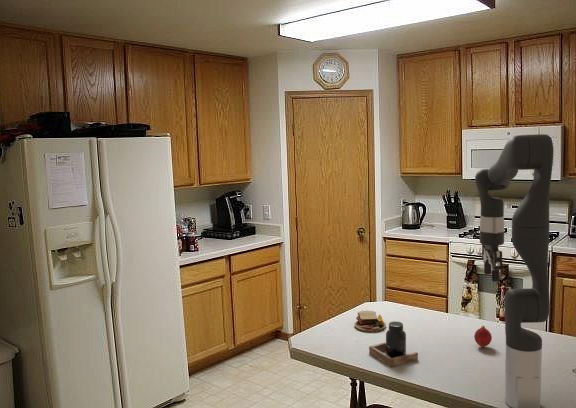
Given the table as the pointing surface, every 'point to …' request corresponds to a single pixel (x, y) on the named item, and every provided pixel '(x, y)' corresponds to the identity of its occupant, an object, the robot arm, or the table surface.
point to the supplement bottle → (395, 340)
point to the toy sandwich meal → (369, 321)
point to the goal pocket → (392, 362)
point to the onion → (483, 337)
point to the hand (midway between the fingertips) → (491, 277)
